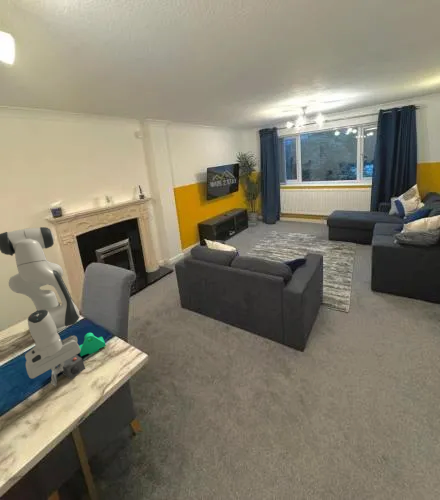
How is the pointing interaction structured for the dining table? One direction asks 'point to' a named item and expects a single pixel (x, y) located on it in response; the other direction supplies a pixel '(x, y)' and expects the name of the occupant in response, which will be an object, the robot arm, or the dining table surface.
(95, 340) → the camera mount
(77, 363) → the camera housing
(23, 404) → the dining table surface
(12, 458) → the dining table surface
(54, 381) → the side door
